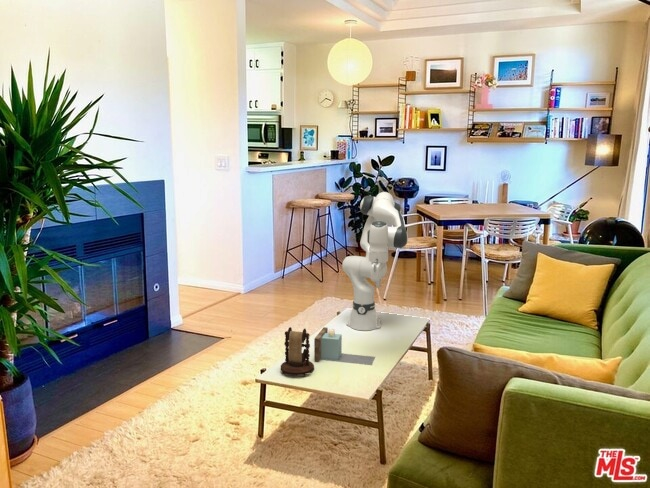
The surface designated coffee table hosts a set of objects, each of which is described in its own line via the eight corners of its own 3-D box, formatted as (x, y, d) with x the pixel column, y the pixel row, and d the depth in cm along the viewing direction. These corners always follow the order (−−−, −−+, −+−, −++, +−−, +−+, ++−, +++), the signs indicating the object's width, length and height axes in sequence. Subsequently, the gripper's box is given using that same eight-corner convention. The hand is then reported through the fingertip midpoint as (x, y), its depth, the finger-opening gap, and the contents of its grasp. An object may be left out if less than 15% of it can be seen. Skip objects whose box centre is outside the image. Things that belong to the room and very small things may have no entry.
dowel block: (325, 352, 257) (325, 326, 254) (341, 354, 255) (341, 328, 252) (321, 358, 250) (321, 331, 248) (338, 360, 248) (338, 333, 246)
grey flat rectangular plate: (325, 353, 258) (325, 351, 258) (375, 358, 252) (375, 356, 252) (320, 361, 249) (320, 359, 249) (371, 367, 243) (371, 365, 242)
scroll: (275, 376, 233) (275, 332, 229) (287, 363, 247) (286, 321, 243) (308, 380, 229) (308, 335, 226) (318, 366, 243) (317, 324, 240)
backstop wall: (323, 350, 262) (323, 327, 259) (327, 351, 261) (327, 327, 259) (314, 363, 246) (314, 338, 244) (318, 364, 246) (318, 339, 244)
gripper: (381, 262, 236) (381, 292, 238) (388, 253, 255) (387, 281, 258) (367, 261, 237) (367, 291, 240) (375, 252, 257) (374, 280, 259)
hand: (377, 286), depth 249 cm, fingers closed
